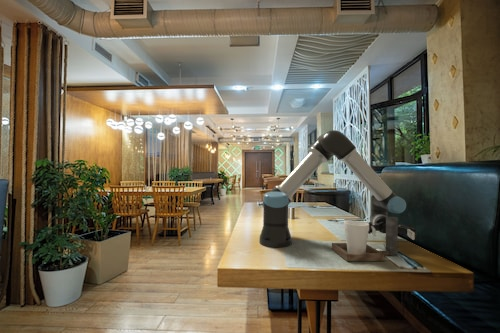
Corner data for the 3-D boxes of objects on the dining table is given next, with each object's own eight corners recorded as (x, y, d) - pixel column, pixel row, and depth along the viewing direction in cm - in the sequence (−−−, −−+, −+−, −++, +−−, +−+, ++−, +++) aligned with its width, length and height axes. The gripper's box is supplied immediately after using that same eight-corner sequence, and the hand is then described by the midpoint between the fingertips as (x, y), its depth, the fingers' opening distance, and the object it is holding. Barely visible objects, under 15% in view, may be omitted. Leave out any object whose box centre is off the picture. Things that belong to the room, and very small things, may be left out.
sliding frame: (347, 261, 91) (347, 221, 92) (331, 248, 106) (331, 214, 106) (407, 260, 93) (407, 220, 93) (384, 248, 107) (384, 214, 107)
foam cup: (349, 249, 106) (349, 219, 106) (372, 255, 99) (372, 223, 99) (339, 255, 99) (340, 222, 99) (363, 261, 92) (363, 226, 93)
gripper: (412, 234, 113) (430, 247, 93) (354, 229, 121) (359, 240, 101) (412, 217, 113) (430, 227, 93) (354, 214, 121) (359, 222, 101)
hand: (393, 234), depth 97 cm, fingers open, 13 cm apart
